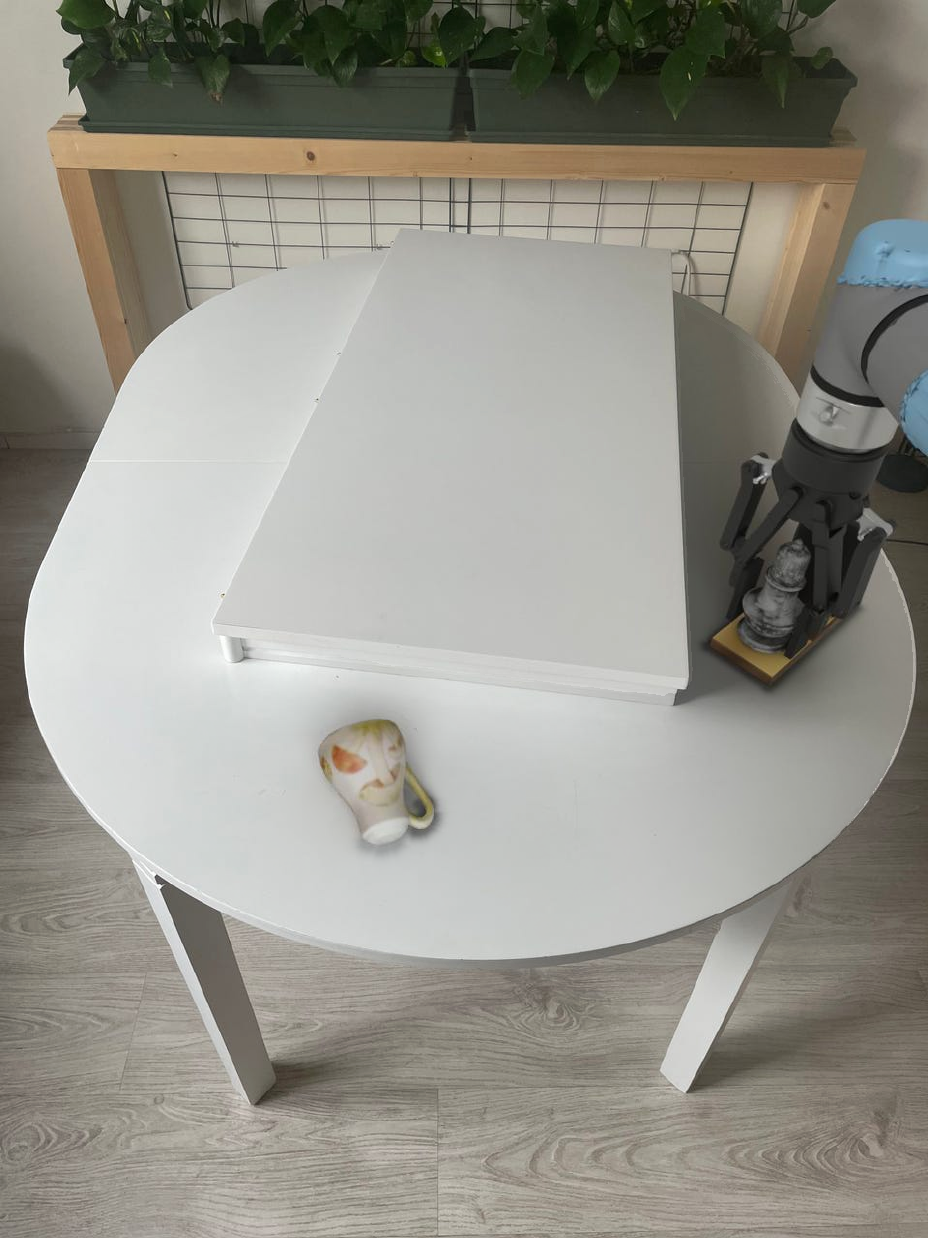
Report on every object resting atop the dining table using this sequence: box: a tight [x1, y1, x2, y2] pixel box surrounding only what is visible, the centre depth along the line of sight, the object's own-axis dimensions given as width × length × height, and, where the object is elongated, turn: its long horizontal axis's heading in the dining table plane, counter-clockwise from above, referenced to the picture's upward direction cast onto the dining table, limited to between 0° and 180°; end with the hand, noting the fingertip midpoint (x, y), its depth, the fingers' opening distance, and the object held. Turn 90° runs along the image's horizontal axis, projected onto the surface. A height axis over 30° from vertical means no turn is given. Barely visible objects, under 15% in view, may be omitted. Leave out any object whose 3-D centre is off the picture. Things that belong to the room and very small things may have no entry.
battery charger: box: [791, 520, 861, 617], centre depth 90 cm, size 7×4×11 cm, turn 51°
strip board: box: [709, 604, 844, 686], centre depth 93 cm, size 7×16×1 cm, turn 133°
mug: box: [317, 718, 435, 846], centre depth 75 cm, size 8×10×10 cm
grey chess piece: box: [737, 539, 811, 654], centre depth 85 cm, size 6×6×12 cm
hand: (765, 631), depth 89 cm, fingers closed on grey chess piece, 6 cm apart
